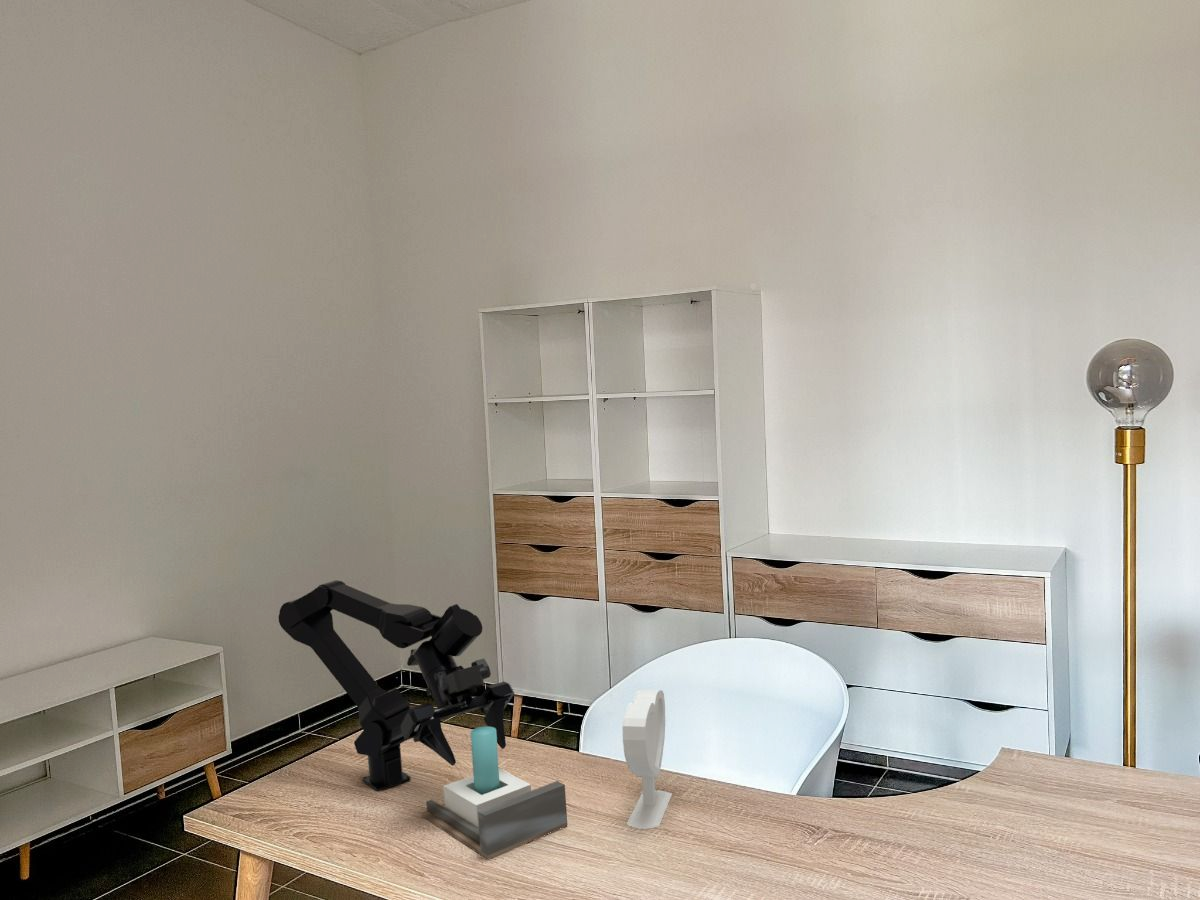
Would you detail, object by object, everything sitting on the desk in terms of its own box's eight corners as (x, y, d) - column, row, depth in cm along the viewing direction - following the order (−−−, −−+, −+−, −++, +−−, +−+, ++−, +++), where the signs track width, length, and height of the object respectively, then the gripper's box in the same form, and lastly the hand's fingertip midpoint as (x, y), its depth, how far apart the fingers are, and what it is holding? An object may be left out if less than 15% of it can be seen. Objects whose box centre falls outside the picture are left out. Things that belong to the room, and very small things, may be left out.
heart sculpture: (656, 832, 144) (649, 716, 143) (623, 830, 145) (616, 715, 144) (674, 788, 159) (668, 682, 158) (644, 787, 160) (638, 681, 159)
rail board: (422, 815, 155) (418, 776, 154) (497, 787, 164) (494, 750, 163) (488, 859, 139) (485, 815, 139) (567, 826, 148) (564, 784, 148)
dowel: (470, 813, 152) (465, 733, 151) (487, 803, 155) (482, 724, 154) (489, 818, 149) (484, 737, 148) (506, 808, 153) (501, 728, 152)
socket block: (445, 815, 153) (443, 785, 153) (498, 795, 159) (496, 766, 159) (478, 835, 145) (476, 805, 145) (532, 814, 151) (530, 784, 151)
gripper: (403, 659, 150) (442, 747, 142) (504, 634, 161) (546, 714, 153) (384, 696, 156) (421, 782, 149) (483, 670, 168) (521, 748, 160)
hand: (479, 755), depth 152 cm, fingers open, 9 cm apart
